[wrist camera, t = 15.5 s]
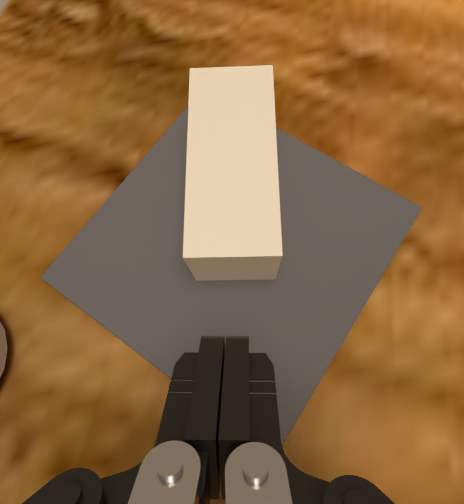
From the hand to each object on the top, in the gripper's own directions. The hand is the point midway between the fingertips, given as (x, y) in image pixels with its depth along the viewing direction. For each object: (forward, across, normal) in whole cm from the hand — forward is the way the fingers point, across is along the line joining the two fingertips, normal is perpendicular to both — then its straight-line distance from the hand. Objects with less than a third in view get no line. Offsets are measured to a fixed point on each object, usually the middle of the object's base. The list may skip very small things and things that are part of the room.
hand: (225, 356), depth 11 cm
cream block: (+9, 0, +2) cm, 9 cm away
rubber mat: (+13, 0, +2) cm, 13 cm away
